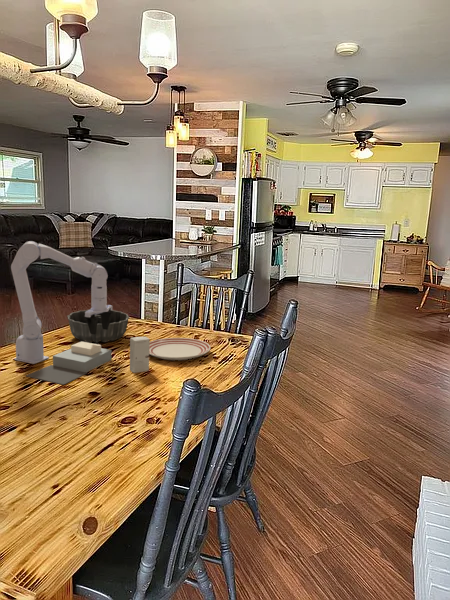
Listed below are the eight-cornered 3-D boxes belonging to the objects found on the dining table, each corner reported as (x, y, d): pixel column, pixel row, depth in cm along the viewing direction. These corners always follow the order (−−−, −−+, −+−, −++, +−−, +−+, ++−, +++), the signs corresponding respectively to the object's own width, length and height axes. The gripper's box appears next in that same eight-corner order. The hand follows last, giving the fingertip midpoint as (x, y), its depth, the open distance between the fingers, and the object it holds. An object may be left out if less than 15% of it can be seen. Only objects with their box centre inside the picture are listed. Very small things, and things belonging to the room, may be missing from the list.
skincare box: (133, 373, 167) (134, 341, 164) (129, 369, 170) (129, 337, 168) (149, 370, 170) (150, 338, 168) (144, 366, 174) (145, 335, 171)
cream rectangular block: (71, 351, 174) (71, 345, 174) (81, 347, 180) (81, 341, 179) (91, 355, 171) (91, 349, 171) (101, 351, 177) (101, 345, 176)
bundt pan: (138, 333, 217) (138, 312, 215) (112, 349, 192) (112, 326, 190) (87, 327, 222) (86, 306, 220) (55, 342, 197) (54, 319, 195)
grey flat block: (53, 366, 170) (52, 355, 169) (81, 354, 184) (81, 344, 183) (84, 373, 165) (84, 362, 164) (111, 359, 179) (111, 350, 178)
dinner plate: (129, 357, 184) (129, 349, 183) (164, 340, 209) (164, 333, 208) (192, 369, 174) (192, 361, 173) (220, 350, 199) (220, 342, 198)
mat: (25, 376, 159) (25, 375, 159) (50, 365, 170) (50, 365, 170) (63, 385, 153) (63, 384, 153) (86, 373, 164) (86, 372, 164)
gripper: (95, 301, 170) (96, 337, 173) (118, 295, 184) (118, 328, 186) (80, 299, 173) (80, 334, 176) (103, 293, 186) (104, 326, 189)
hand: (99, 331), depth 181 cm, fingers open, 7 cm apart
